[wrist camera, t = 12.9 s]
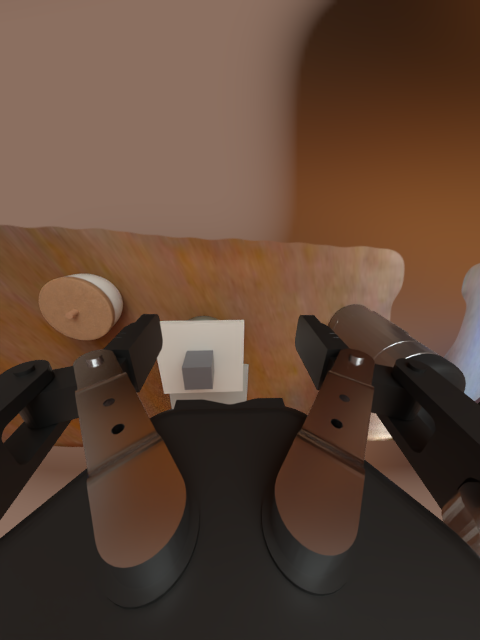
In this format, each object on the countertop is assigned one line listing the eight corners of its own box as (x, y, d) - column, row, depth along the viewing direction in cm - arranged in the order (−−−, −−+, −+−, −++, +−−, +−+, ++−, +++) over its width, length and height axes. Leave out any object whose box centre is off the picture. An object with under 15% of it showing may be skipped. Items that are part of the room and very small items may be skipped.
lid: (243, 319, 35) (246, 336, 30) (242, 387, 41) (244, 410, 36) (152, 321, 34) (139, 339, 29) (165, 389, 40) (157, 413, 36)
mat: (248, 364, 48) (248, 364, 48) (245, 420, 56) (245, 421, 56) (165, 364, 47) (164, 365, 47) (174, 421, 55) (174, 422, 55)
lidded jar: (122, 264, 37) (91, 278, 29) (139, 318, 42) (116, 343, 34) (62, 269, 37) (13, 284, 29) (85, 322, 42) (49, 348, 33)
